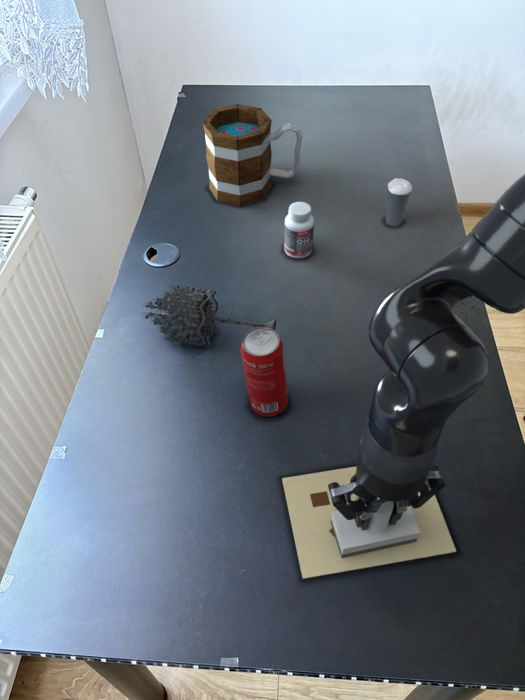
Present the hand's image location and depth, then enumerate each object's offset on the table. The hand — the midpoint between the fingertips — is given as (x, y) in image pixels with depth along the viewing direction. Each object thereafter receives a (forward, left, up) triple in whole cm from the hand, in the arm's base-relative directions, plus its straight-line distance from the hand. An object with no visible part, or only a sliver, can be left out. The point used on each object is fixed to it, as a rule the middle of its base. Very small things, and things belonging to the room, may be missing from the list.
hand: (376, 520), depth 75 cm
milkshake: (-22, -62, -4) cm, 66 cm away
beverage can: (+10, -23, -4) cm, 25 cm away
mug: (+3, -79, -4) cm, 79 cm away
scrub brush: (0, 0, -4) cm, 4 cm away
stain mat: (0, -3, -4) cm, 5 cm away
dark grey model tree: (+17, -38, -4) cm, 42 cm away
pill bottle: (-2, -57, -4) cm, 57 cm away
